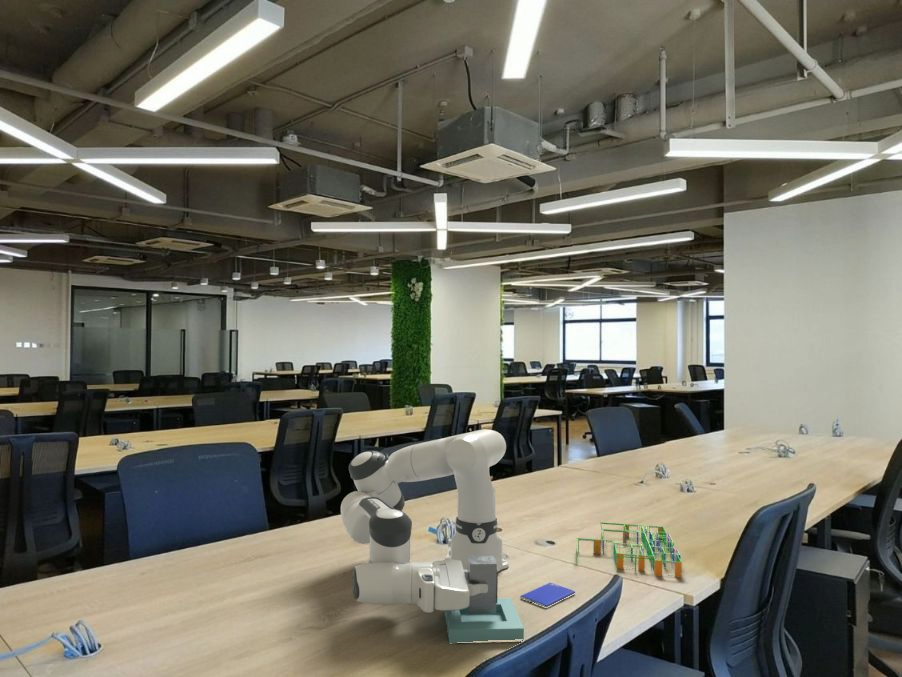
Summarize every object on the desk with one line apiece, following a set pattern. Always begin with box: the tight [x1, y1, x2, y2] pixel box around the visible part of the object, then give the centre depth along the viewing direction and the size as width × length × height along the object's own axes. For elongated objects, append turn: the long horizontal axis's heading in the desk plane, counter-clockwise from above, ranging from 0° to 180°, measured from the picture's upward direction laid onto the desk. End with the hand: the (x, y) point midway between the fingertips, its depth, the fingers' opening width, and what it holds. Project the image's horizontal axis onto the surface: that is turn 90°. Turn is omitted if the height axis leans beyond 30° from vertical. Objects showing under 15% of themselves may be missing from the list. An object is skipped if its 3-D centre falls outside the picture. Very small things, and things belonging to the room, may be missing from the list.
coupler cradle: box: [443, 597, 525, 644], centre depth 138 cm, size 16×16×3 cm
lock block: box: [467, 556, 499, 614], centre depth 138 cm, size 5×6×11 cm
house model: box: [575, 521, 683, 578], centre depth 189 cm, size 35×30×5 cm
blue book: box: [519, 582, 576, 607], centre depth 155 cm, size 2×8×12 cm
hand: (485, 582), depth 138 cm, fingers closed on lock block, 5 cm apart
